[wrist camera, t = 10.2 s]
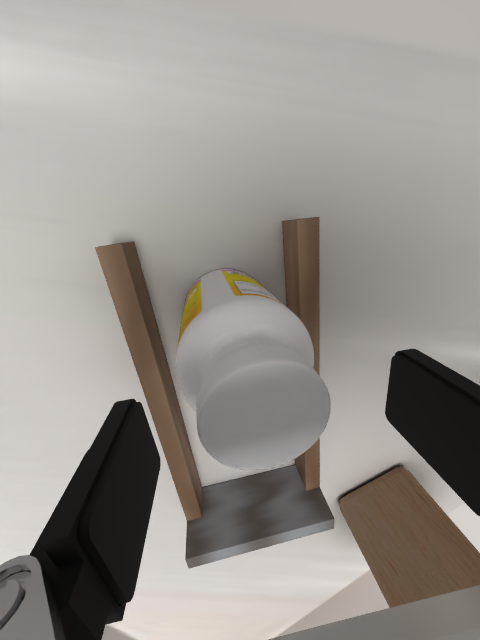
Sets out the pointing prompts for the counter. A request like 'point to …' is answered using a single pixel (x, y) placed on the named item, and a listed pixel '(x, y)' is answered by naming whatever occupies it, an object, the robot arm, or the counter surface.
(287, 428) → the supplement bottle
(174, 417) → the shelf lane
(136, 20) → the counter surface
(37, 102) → the counter surface
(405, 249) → the counter surface
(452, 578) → the block
